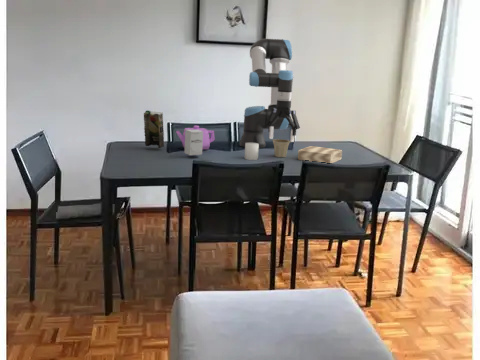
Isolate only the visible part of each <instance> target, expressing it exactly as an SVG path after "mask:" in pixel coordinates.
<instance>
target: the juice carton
mask: <svg viewBox="0 0 480 360" xmlns="http://www.w3.org/2000/svg"><path fill="white" fill-rule="evenodd" d="M163 116H164V114H163V112H161V111H151V110H145V112H143V123H144V124H143V125H144V128H143V129H144V132H143V133H144V144H145V146H146V147H149V146H157V148H158V149H161V148H163V147H164V146H165V139H164V138H165V133H164V117H163Z"/></svg>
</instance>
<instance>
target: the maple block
mask: <svg viewBox="0 0 480 360" xmlns="http://www.w3.org/2000/svg"><path fill="white" fill-rule="evenodd" d="M342 157H343V150H342V149H337V148H330V147H329V148H328V147H322V146H315V145H310V146H306V147H304V148H301V149H298V152H297V160H299V161H305V160H309V161H308V162H312V161H317V162H316V163H319V162H326V163H332V164H333V163H336V162H338V161H340V160H342ZM326 163H325V164H326Z"/></svg>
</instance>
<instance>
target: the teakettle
mask: <svg viewBox="0 0 480 360" xmlns="http://www.w3.org/2000/svg"><path fill="white" fill-rule="evenodd" d="M185 130H201V131H203V146H202V150H209V149H210V146H211V145H210V144H211V143H212V142H214V141H215V130H210V129H209V130H208V129H207V128H205V127H204V128H203V127H200V126H199V125H193V127H185V128H184V130H183V133H181V132H180V130H176V131H175V133H176V134H177V137H178V138H179V140H180V142H181V144H182V147H183V148H184V149H185Z"/></svg>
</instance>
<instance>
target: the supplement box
mask: <svg viewBox="0 0 480 360" xmlns="http://www.w3.org/2000/svg"><path fill="white" fill-rule="evenodd" d="M202 146H203V131H201V130H185V148H184V154H186V155H188V156H202V155H203V149H202Z"/></svg>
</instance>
